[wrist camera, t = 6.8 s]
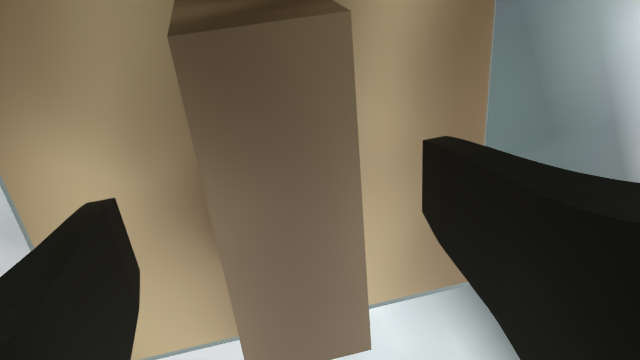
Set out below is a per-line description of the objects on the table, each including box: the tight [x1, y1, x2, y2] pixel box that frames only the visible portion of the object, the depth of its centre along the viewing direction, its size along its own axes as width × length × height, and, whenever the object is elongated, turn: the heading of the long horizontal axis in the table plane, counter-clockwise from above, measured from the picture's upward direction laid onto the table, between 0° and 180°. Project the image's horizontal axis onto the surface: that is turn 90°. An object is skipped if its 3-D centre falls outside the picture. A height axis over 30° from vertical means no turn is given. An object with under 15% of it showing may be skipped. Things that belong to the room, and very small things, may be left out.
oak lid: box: [0, 0, 495, 360], centre depth 12 cm, size 13×13×5 cm
